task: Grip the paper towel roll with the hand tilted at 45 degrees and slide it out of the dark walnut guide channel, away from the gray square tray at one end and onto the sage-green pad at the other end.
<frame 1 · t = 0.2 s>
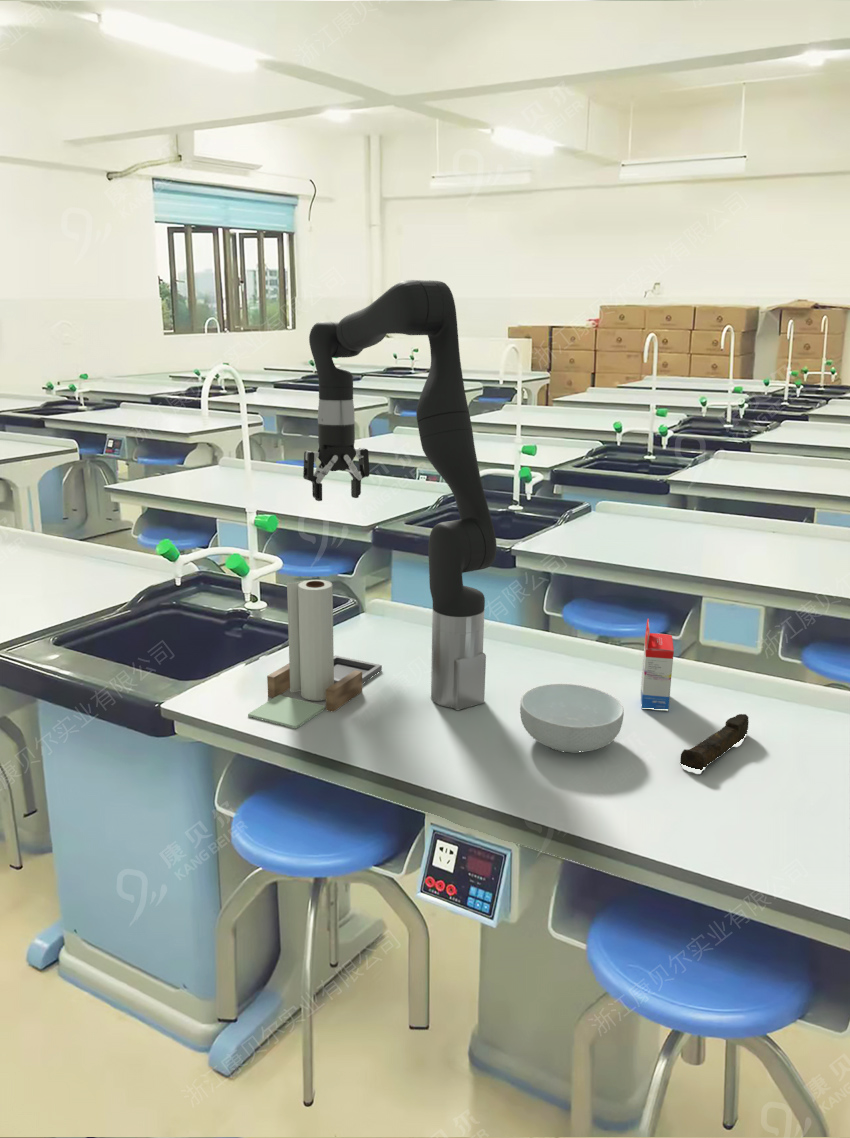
hand: (337, 499, 195), 29 cm above the table, tool pointing down, fingers open, 8 cm apart
sage pad: (287, 712, 162), on the table
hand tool: (715, 754, 150), on the table
ink box: (653, 702, 168), on the table
paper towel roll: (315, 695, 169), on the table
cereal bowl: (569, 743, 153), on the table
walnut guide channel: (315, 693, 169), on the table
gray square tray: (344, 675, 178), on the table
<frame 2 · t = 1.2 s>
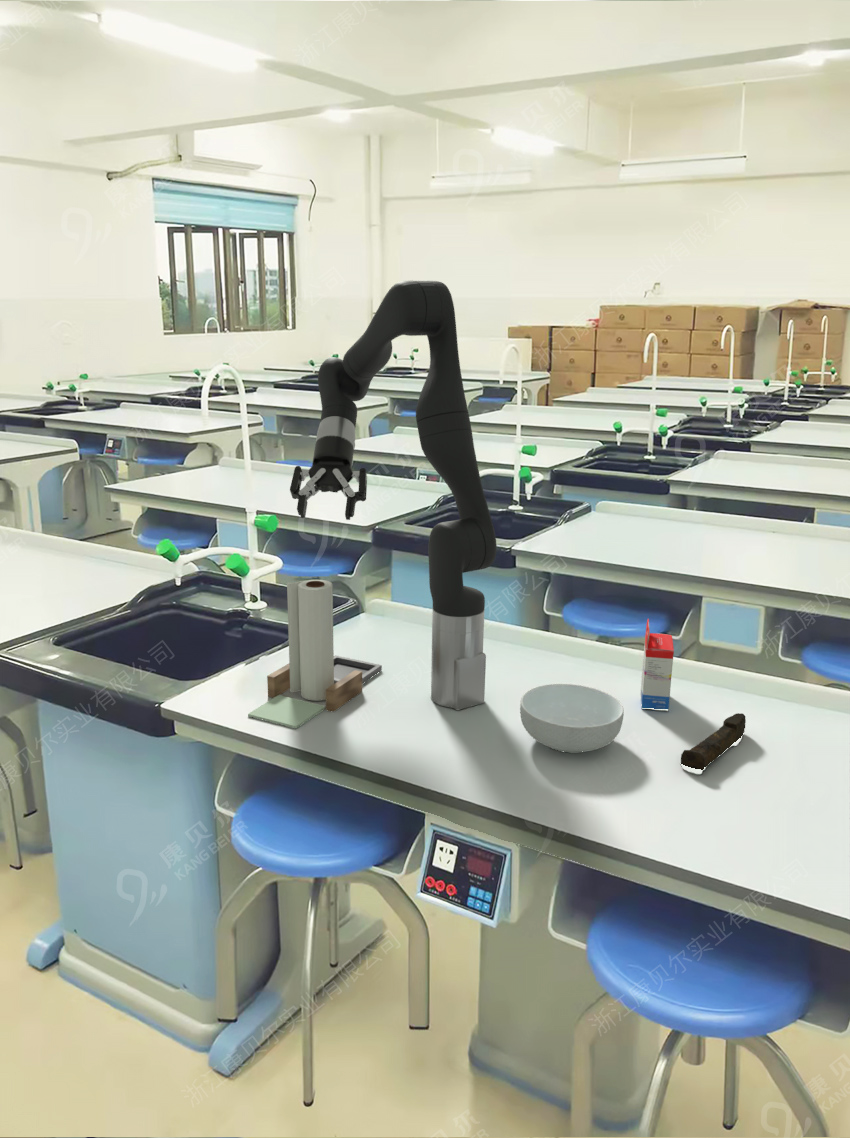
hand: (324, 516, 172), 31 cm above the table, tool tilted 45°, fingers open, 8 cm apart
nothing on the table moved.
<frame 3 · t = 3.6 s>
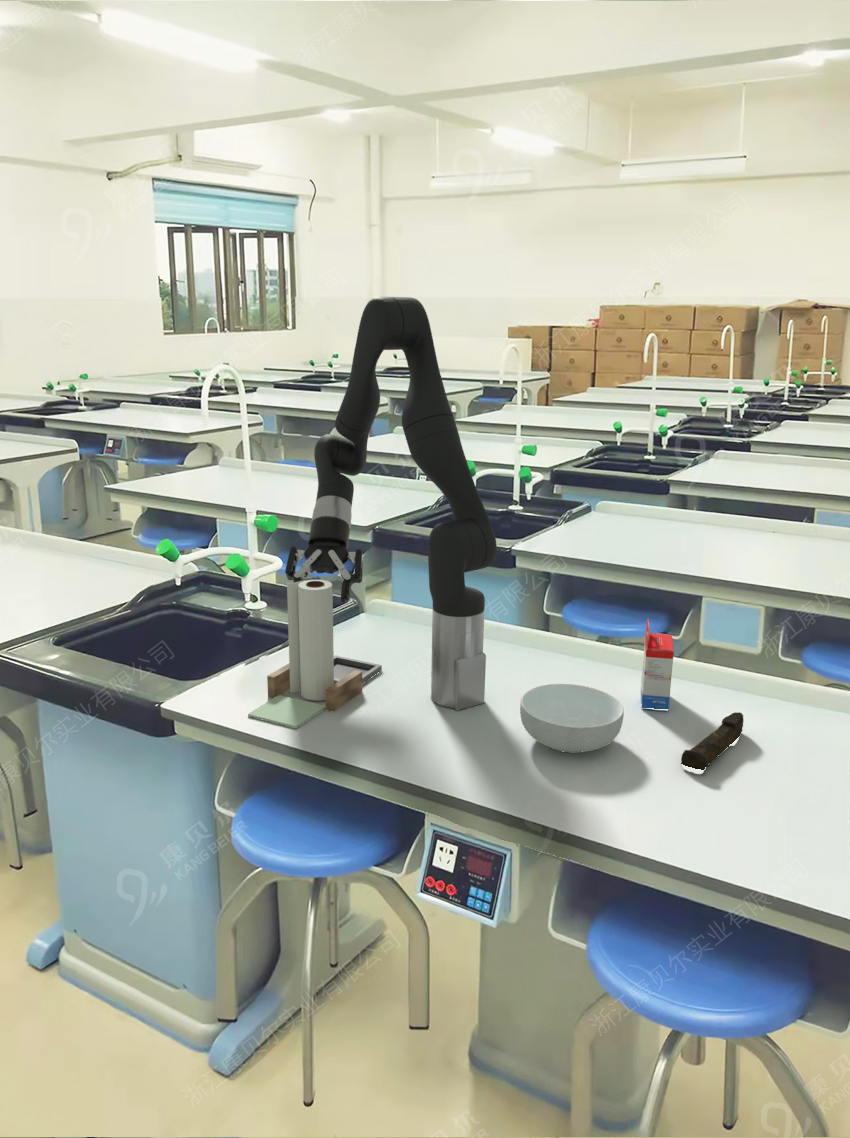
hand: (320, 599, 170), 16 cm above the table, tool tilted 45°, fingers open, 8 cm apart
nothing on the table moved.
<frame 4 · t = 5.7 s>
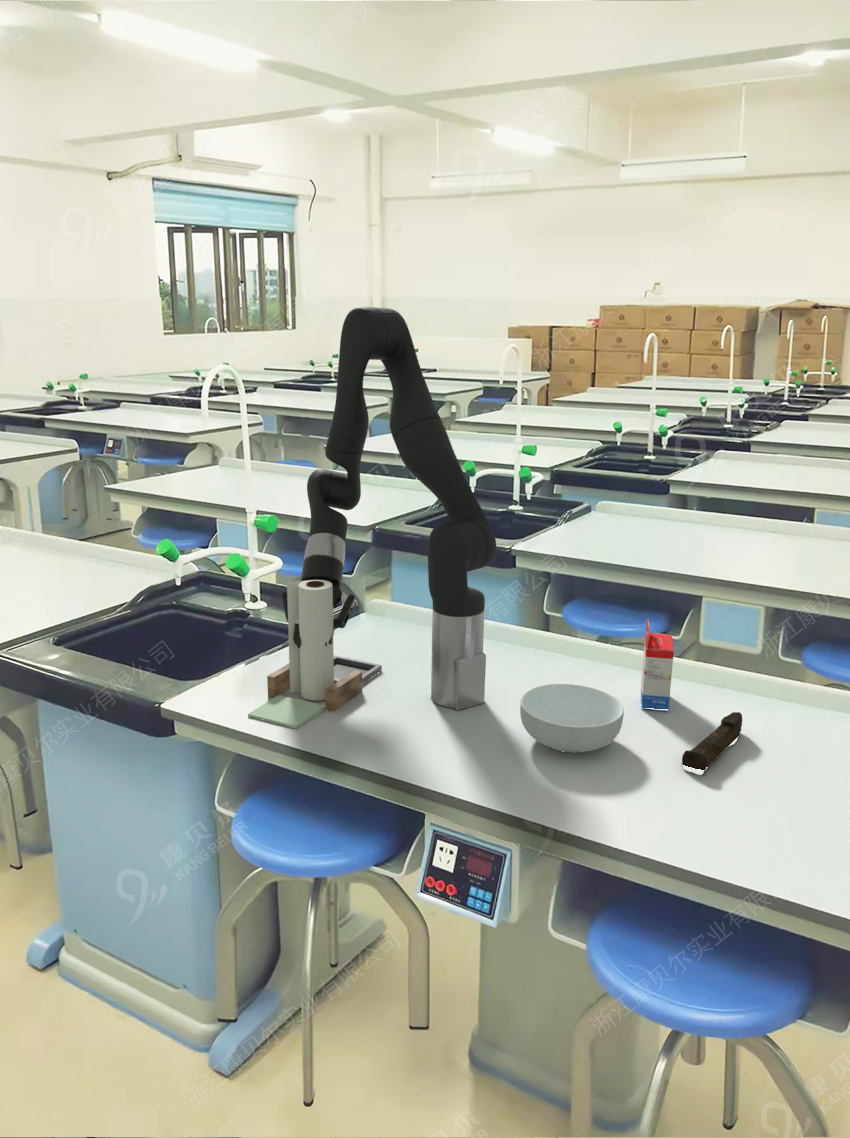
hand: (312, 646, 165), 10 cm above the table, tool tilted 45°, fingers open, 4 cm apart
paper towel roll: (315, 695, 169), on the table, touching gripper
everything else where it was.
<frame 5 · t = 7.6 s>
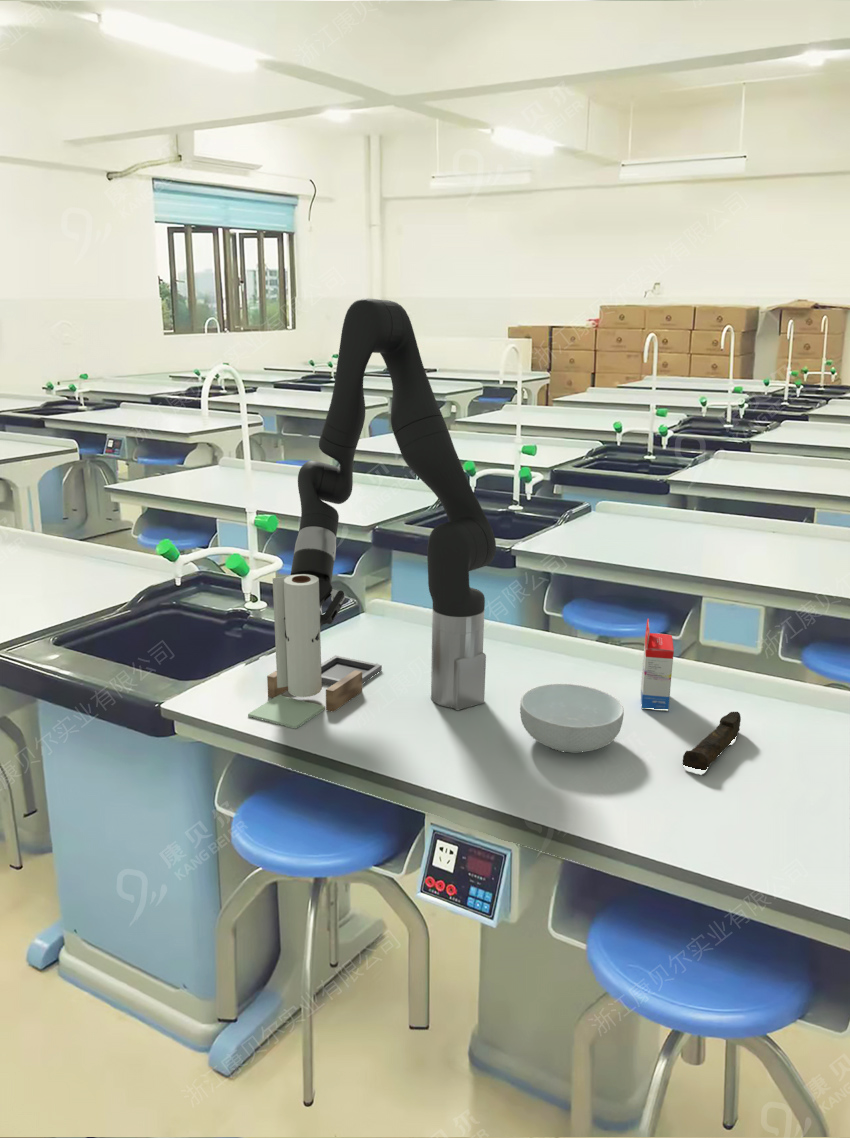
hand: (301, 642, 162), 12 cm above the table, tool tilted 45°, fingers closed on paper towel roll, 3 cm apart
paper towel roll: (303, 690, 167), point 2 cm above the table, touching gripper
everything else where it was.
when the fingers open (11 cm above the table, at t = 9.2 s): paper towel roll stays where it is, resting on sage pad.
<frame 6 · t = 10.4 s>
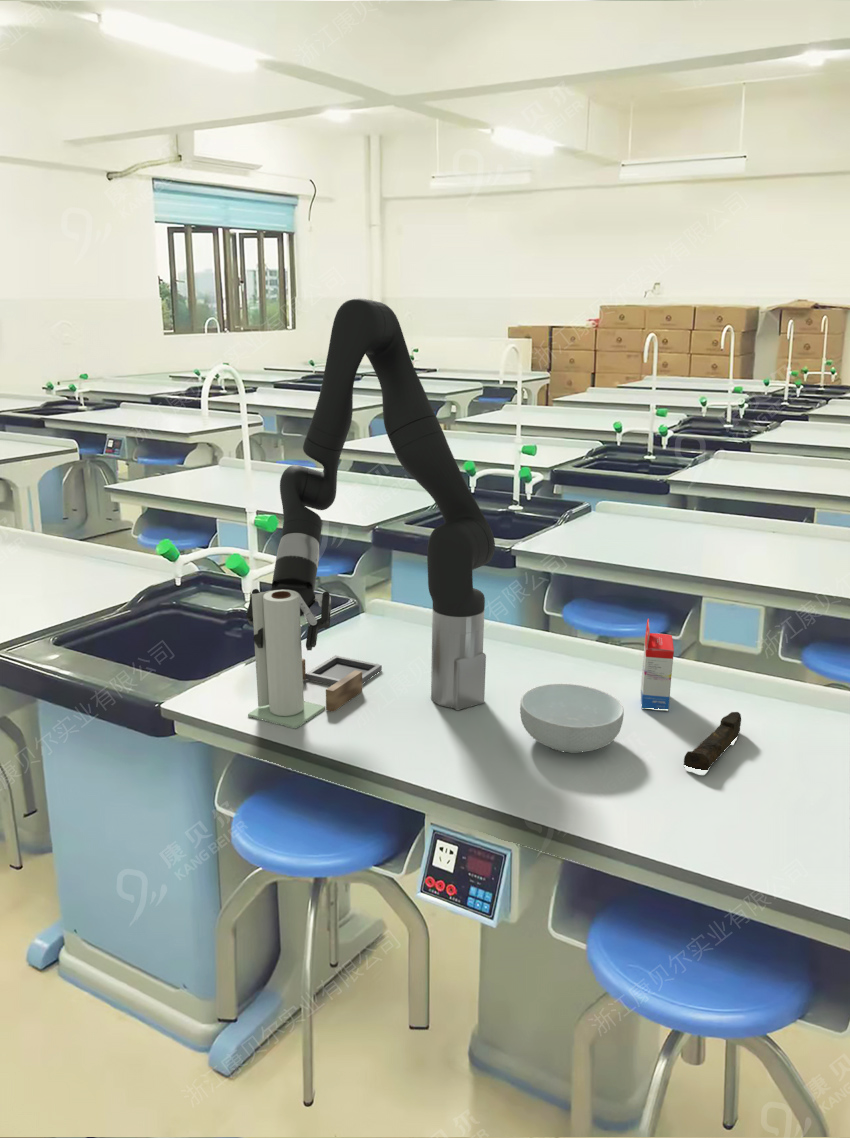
hand: (284, 647, 157), 13 cm above the table, tool tilted 45°, fingers open, 8 cm apart
paper towel roll: (284, 709, 162), resting on sage pad
everything else where it was.
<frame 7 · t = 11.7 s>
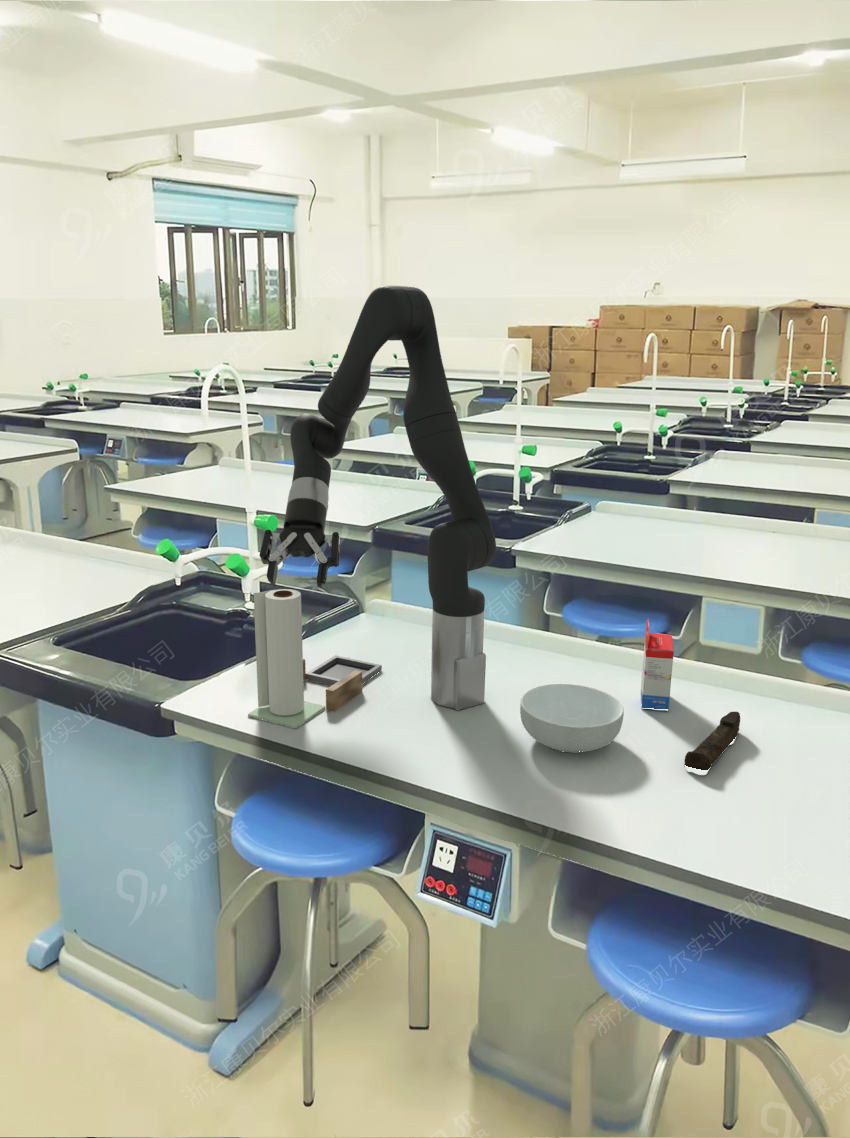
hand: (295, 584, 165), 21 cm above the table, tool tilted 45°, fingers open, 8 cm apart
nothing on the table moved.
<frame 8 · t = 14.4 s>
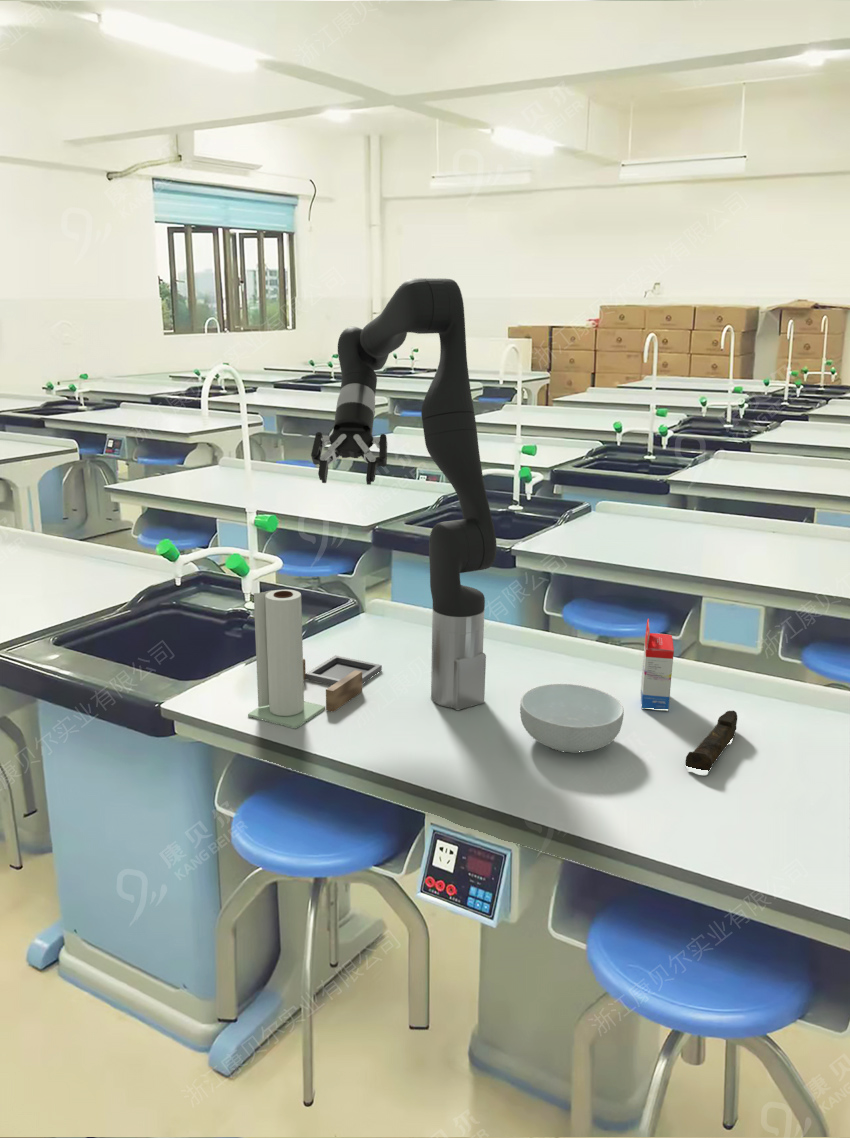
hand: (346, 481, 173), 37 cm above the table, tool tilted 45°, fingers open, 8 cm apart
at the end: paper towel roll 0.7 cm from the sage pad (horizontally); paper towel roll tilted 0°; the gripper is holding nothing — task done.
